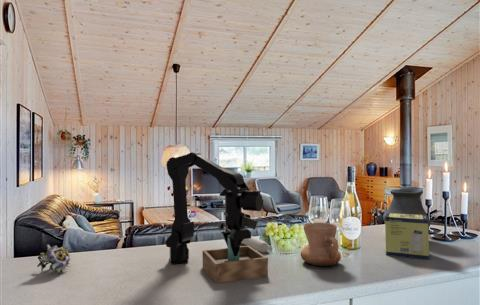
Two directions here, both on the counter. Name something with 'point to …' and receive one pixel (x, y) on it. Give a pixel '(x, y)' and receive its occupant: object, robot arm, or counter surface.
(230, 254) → the peg
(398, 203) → the dark grey flared piece
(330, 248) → the ceramic jug
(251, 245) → the tube
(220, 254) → the box
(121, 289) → the counter surface
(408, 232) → the protein box
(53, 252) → the passion flower
